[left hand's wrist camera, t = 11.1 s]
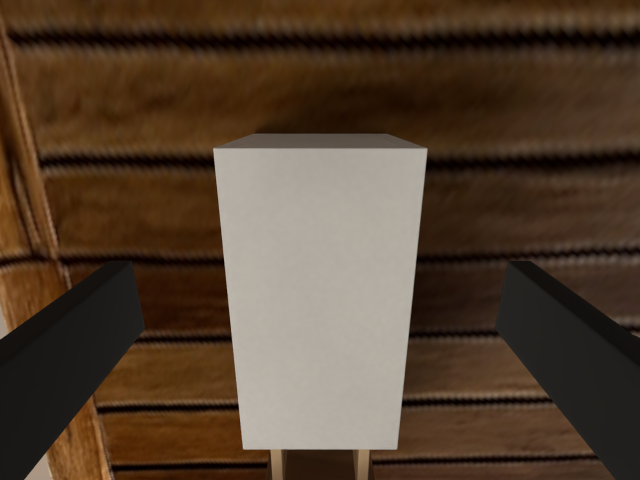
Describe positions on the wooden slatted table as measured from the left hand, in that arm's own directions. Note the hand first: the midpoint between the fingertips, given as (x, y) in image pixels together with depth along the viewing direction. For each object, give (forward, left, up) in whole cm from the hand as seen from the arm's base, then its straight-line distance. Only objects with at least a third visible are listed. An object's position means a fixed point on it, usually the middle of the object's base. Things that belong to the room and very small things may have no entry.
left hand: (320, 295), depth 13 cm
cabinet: (0, +6, -18) cm, 18 cm away
